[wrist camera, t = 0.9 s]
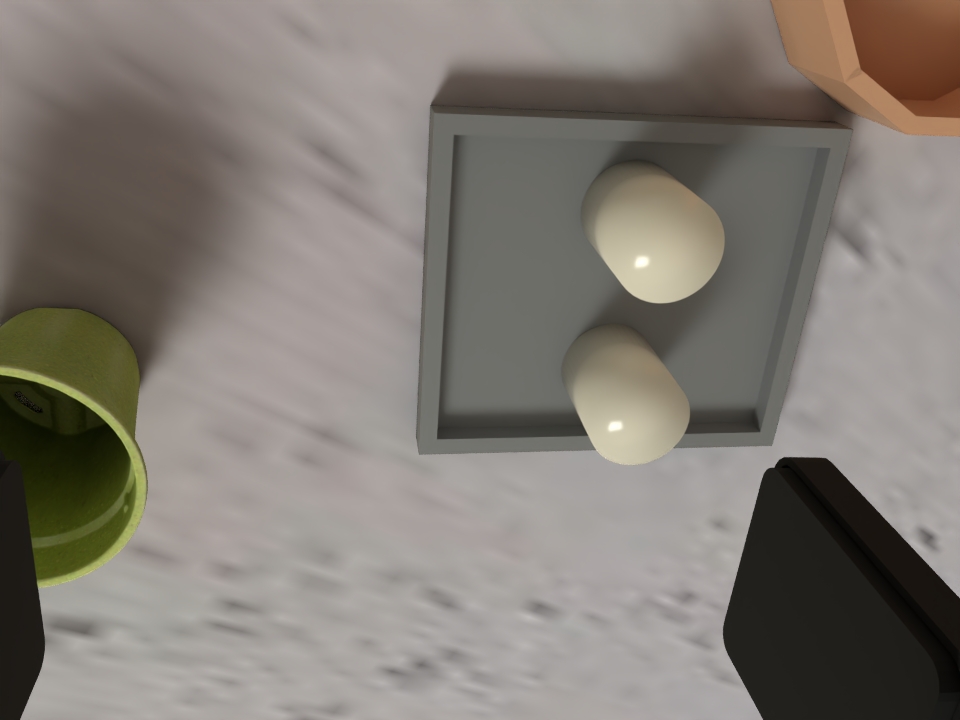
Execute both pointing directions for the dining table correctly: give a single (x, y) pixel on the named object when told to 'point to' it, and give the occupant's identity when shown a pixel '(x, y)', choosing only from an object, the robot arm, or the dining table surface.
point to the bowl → (880, 58)
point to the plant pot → (72, 437)
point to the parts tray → (590, 282)
